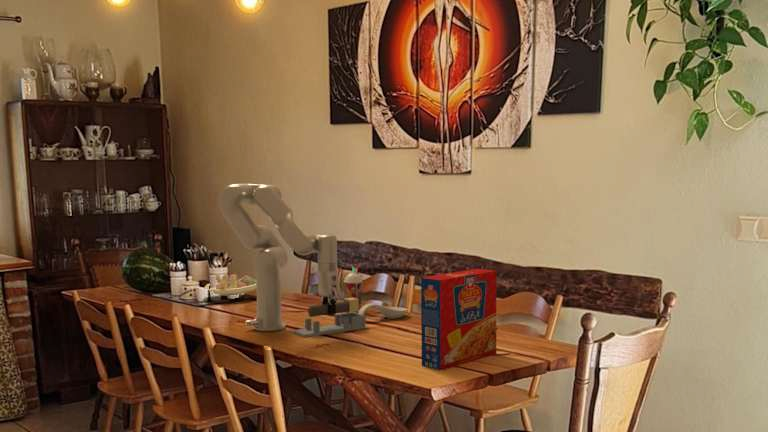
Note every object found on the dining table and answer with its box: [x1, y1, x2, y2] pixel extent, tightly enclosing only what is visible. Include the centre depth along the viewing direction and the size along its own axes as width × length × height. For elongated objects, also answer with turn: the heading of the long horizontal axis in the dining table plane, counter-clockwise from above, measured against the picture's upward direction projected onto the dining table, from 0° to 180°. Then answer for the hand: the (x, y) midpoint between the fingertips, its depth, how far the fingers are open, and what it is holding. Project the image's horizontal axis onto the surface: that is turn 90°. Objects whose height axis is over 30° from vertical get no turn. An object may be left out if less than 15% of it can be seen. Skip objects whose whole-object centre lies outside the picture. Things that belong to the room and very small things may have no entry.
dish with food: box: [203, 273, 256, 297], centre depth 336 cm, size 28×28×14 cm
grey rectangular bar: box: [307, 297, 359, 318], centre depth 265 cm, size 20×5×5 cm, turn 123°
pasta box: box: [420, 268, 497, 371], centre depth 221 cm, size 28×8×28 cm, turn 134°
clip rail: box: [293, 312, 367, 338], centre depth 265 cm, size 27×9×5 cm, turn 123°
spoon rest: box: [358, 302, 408, 320], centre depth 286 cm, size 24×12×7 cm, turn 126°
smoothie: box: [343, 266, 363, 313], centre depth 301 cm, size 8×8×20 cm
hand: (328, 313), depth 264 cm, fingers closed on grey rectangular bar, 4 cm apart
